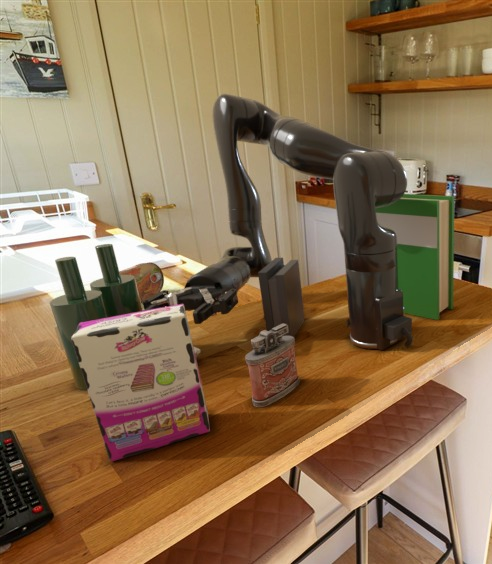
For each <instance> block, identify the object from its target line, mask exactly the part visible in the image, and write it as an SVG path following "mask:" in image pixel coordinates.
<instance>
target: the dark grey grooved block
mask: <svg viewBox="0 0 492 564" xmlns="http://www.w3.org/2000/svg"><path fill="white" fill-rule="evenodd" d="M258 276H259V277H258V283H259V290H260V296H261V303H262V310H263V318H264V324H265V330H266V331H270V330H272V328H274V327H277V326H279V325H281V324H286V325H288V331H289V332H288V333H286V334H284V335H282V336H292V337H294V338H295V336H296V335H297V334H298V332H299V330H300V328H301V327H302V325H303V323H304V322H305V320H306V318H305V309H304V301H303V292H302V282H301V272H300V263H299V259H290V260H289V261H288V262H287V263H286V264H285V263H284V257H275V258H274V259H272V261H271V262H270V263H269V264H268V265H267V266H265V267H264V268H263V269H262V270H261V271H259V272H258Z"/></svg>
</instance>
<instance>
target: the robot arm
mask: <svg viewBox="0 0 492 564" xmlns="http://www.w3.org/2000/svg"><path fill="white" fill-rule="evenodd" d="M212 124H213V131H214V136H215V137H214V138H215V142H216V147H217V152H218V156H219V161H220V165H221V166H220V167H221V170H222V175H223V179H224V184H225V189H226V190H225V191H226V198H227V213H228V214H227V215H228V229H229V232H230V234H231V235H233V236H234V237H235V236H236V237H239V238H244V239H246V240H247V241H248V242H249V244H250V246H234V247H230V248H227V249H226V250H225V251H224V252H223V255H222V256H221V259H220V260H219V261H217V262H215V263H212V264H209V265H208V266H207V267H205V268H203V269H202V270H200V271H198V272H196V273H195V274H193V275H192V276H191V277H189V278H188V279H187V281H186V283H185V285H184V288H181V289H180V290H179V291H175V292H173V293H174V294H176V296H177V300H178V305H179V304H184V307H185V311H186V312H191V311H193V312H192V318H193V323H194V325H201V324H202V323H203V322H205V321H208V319H210V317H215V316H217V313H220V314H221V315H228V314H229V313H230V312H231V311H232V310H233V309H234V308H235V307H236V306H237V305H238V303H239V298H238V297H239V296H238V292H239V291H240V290H241V289H242V288H243V287H245V285H246V284H247V283H248V282H249V280H251V278H259V276H258V272H259V271H261V270H262V269H263V268H264V267H265V266H267V265H268V264H269V263H270V262H271V261H272V260H273V259H272V256H271V252H270V250H269V247H268V244H267V241H266V237H265V234H264V229H263V222H262V221H263V220H262V205H261V203H262V202H261V198H260V194H259V191H258V189H257V187H256V185H255V184H254V182H253V180H252V178H251V177H250V175H249V174H248V172H247V170H246V168H245V166H244V164H243V161H242V158H241V155H240V153H239V147H238V142H240V143H241V142H242V143H248V144H256V145H261V146H265V147H268V148H269V150H270V152H271V154H272V156H273V158H275V160H277V161H278V162H279V163H280V164H282V165H284V166H286V167H287V168H289V169H291V170H292V171H295V172H297V173H300V174H302V175H306V176H310V177H314V178H320V179H327V180H332V184H333V185H332V186H333V195H334V203H335V210H336V217H337V218H336V219H337V227H338V231H339V234H340V236H341V239H342V242H343V251H344V264H345V265H344V266H345V280H346V282H345V283H346V294H347V295H346V296H347V306H348V307H347V309H348V318H347V319H346V327H347V329H348V328H349V340H350V342H351V344H353V346H356V347H358V348H362V349H370V350H379V351H384V350H386V349H388V348H390V347H391V346H394V345H395V344H397V343H399V342H400V341H402V340H404V339H405V337H406V341H405V343H404V346H405V347H406V348H410V346H411V345H412V343H413V335H412V334H411V333H412V332H413V318H412V317H409V316H406V315H405V313H404V311H403V309H404V307H403V291H402V290H399V289H398V257H397V235H396V233H395V231H393V230H392V229H389V228H385V227H382V226H380V225H379V224H378V222H377V218H376V210H375V208H380V207H384V206H388V205H391V204H393V203H395V202H397V201H398V200H399V199H400V198H401V197H402V196H403V195H404V194H406V192H407V188H408V176H407V172H406V170H405V168H404V165H403V164H402V162H401V161H400V160H399V159H398V158H397V157H395V156H394V155H393V154H392V153H390V152H388V151H384V150H380V149H374V148H371V147H366V146H363V145H358V144H356V143H353V142H350V141H348V140H346V139H344V138H342V137H339V136H337V135H336V134H333V133H331V132H329V131H327V130H325V129H321V128H320V127H318V126H316V125H313V124H311V123H309V122H307V121H304V120H302V119H298V118H296V117H293V116H288V115H287V116H286V115H282V114H279V113H278V112H277V111H275V110H273V109H271V108H270V107H268V106H267V104H266V105H265V104H264V103H262V102H260V101H258V100H255V99H252V98H247V97H243V96H239V95H234V94H230V93H222V94H220V95H218V96H217V98H215V101H214V103H213V107H212ZM169 294H170V293H169V290H168V289H163V290H161V291H160V292H159V293H157V294H155V295H153V296H152V297H150V298H148V299H146V300H144V301H143V302H142V306H143V311H146V310H151V309H157V308H163V307H168V306H169V302H168V295H169Z"/></svg>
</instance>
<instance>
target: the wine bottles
mask: <svg viewBox="0 0 492 564" xmlns="http://www.w3.org/2000/svg"><path fill="white" fill-rule="evenodd" d="M94 248H95V253H96V256H97V260H98V263H99V267H100V271H101V275H102V278H99V279H95V280H93V281H92V282H90V284H89V287H90V289H89V290H85V289H86V288H85V285H84V282H83V279H82V275H81V271H80V268H79V265H78V261H77V258H76V256H64V257H60V258H59V257H58V258H56V259H55V260H54V261H55V265H56V269H57V272H58V276H59V278H60V281H61V284H62V289H63V292H64V294H63V295H59V296H57V297H55V298H53V299H51V300H50V302H49V305H50V309H51V312H52V315H53V318H54V322H55V325H54V326H53V327H54V330H55V331H54V332H55V334H56V337H57V340H58V343H59V347H60V350H61V351H64V353H65V355H66V356H65V357H66V359H67V360H66V361H67V364H68V365H69V369H70V372H71V376H72V379H73V382H74V385H75V388H77V390H81V391H88V390H87V387H86V384H85V381H84V378H83V374H82V371H81V368H80V365H79V362H78V360H77V356H76V354H75V350H74V347H73V344H72V341H71V338H72V336H73V334H74V333H75V331H76V329H77V327H78V325H79V323H82V322H87V321H92V320H98V319H103V318H109V317H114V316H119V315H125V314H130V313H135V312H141V311H143V310H144V308H143V303H142V302H141V300H140V296H139V292H138V288H137V284H136V280H135V277H134V276H132V275H120V272H119V271H120V269H119V265H118V261H117V256H116V253H115V249H114V245H113V244H112V243H105V244H98V245H95V246H94Z"/></svg>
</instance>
